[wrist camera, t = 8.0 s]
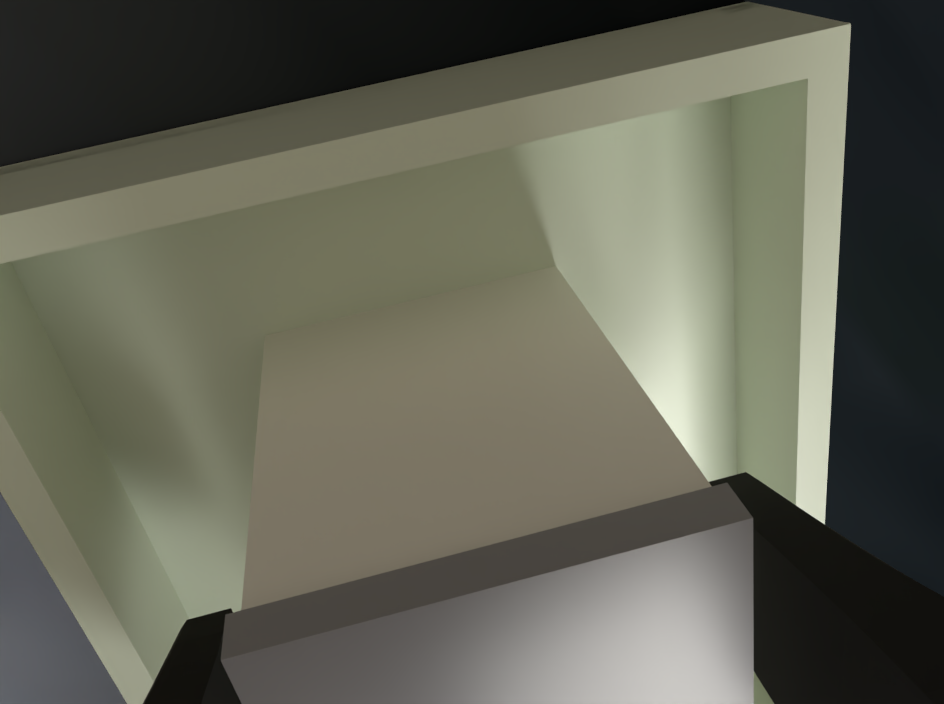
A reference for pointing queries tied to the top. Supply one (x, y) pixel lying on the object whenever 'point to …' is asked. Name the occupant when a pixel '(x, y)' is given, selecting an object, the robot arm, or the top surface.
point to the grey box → (482, 518)
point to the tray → (413, 280)
